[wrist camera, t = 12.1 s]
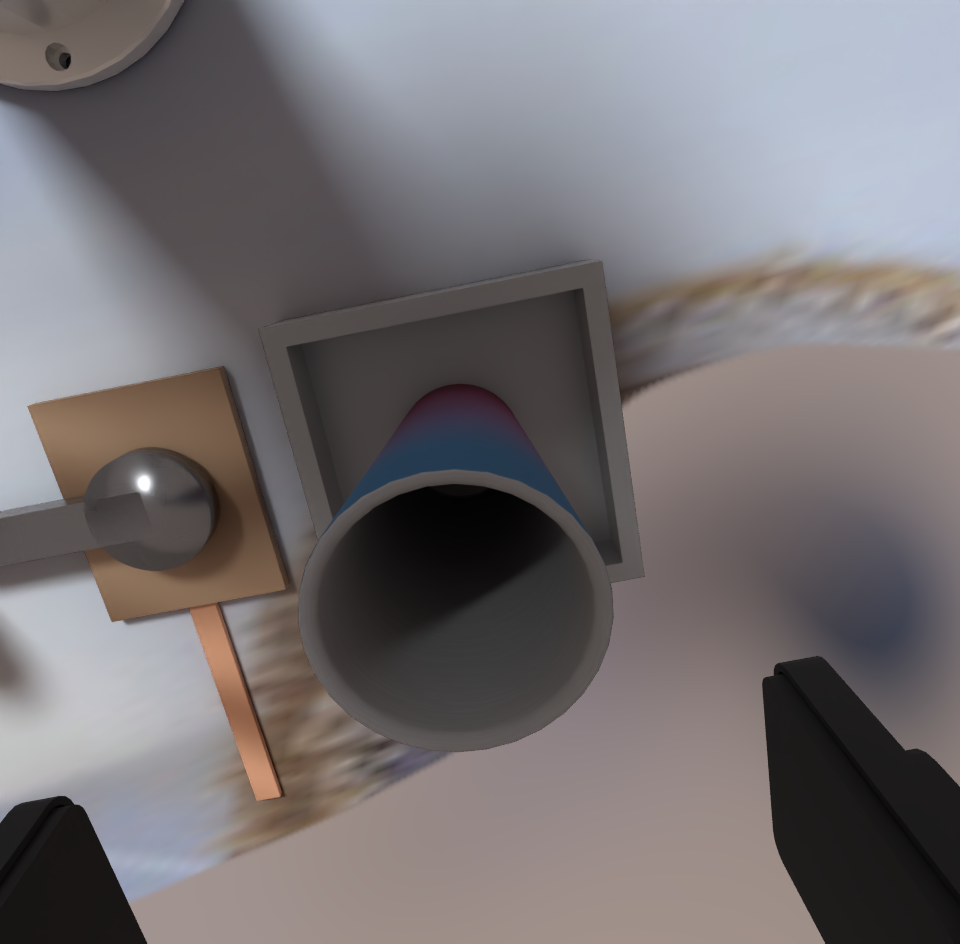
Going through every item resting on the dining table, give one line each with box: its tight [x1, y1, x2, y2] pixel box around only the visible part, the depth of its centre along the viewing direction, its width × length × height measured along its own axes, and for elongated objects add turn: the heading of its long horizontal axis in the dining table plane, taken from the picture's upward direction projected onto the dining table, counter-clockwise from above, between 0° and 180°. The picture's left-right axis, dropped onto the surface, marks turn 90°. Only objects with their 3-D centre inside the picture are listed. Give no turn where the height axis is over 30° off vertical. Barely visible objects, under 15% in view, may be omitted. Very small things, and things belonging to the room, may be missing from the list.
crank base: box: [28, 366, 289, 801], centre depth 32 cm, size 21×8×1 cm, turn 11°
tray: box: [258, 260, 645, 583], centre depth 29 cm, size 13×13×3 cm
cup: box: [298, 384, 613, 752], centre depth 22 cm, size 7×7×15 cm
